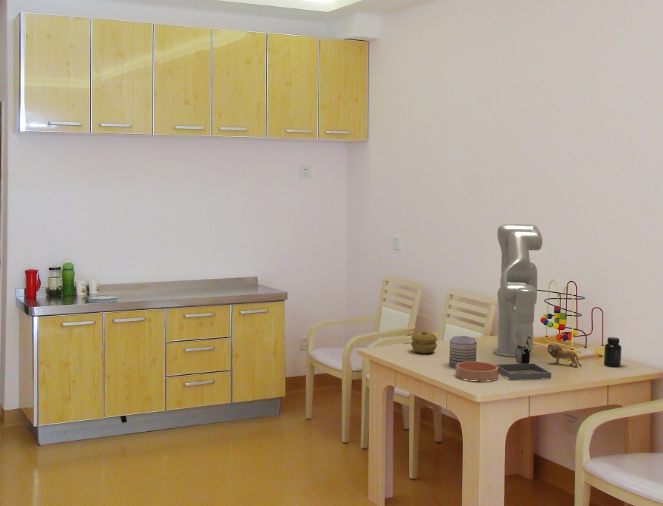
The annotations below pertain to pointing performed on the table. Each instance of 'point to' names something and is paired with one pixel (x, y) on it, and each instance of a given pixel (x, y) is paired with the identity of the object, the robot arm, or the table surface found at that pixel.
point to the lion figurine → (562, 354)
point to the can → (462, 350)
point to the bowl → (477, 371)
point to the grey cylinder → (519, 355)
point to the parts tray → (540, 375)
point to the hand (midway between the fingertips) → (522, 360)
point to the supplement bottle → (612, 353)
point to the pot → (424, 342)
